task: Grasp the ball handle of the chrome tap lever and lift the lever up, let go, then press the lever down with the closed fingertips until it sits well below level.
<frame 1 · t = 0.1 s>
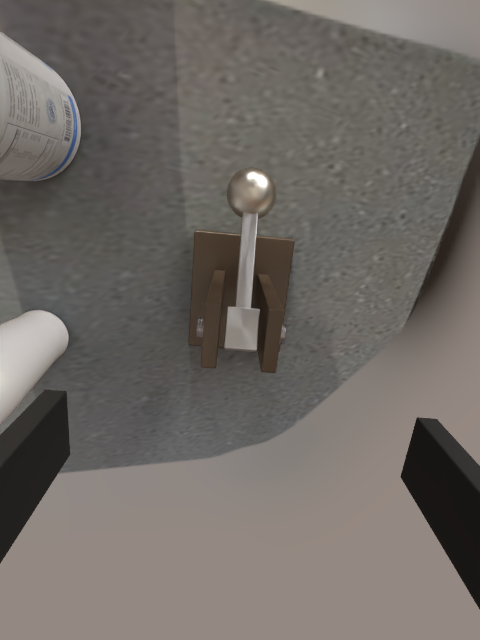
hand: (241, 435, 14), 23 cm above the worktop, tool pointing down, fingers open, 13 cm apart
white tapered cylinder: (45, 333, 37), on the worktop
supplement tub: (29, 123, 31), on the worktop
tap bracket: (239, 292, 36), on the worktop
tap lever: (246, 257, 26), point 9 cm above the worktop, hinge at -26.0°
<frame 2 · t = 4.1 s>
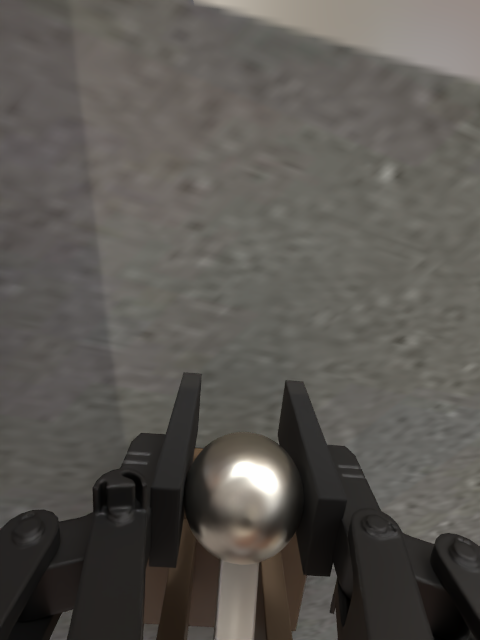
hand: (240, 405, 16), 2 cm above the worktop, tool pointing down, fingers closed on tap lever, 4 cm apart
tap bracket: (224, 534, 20), on the worktop
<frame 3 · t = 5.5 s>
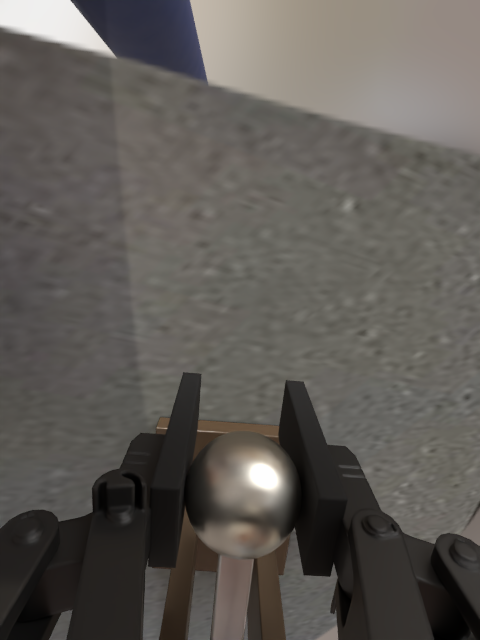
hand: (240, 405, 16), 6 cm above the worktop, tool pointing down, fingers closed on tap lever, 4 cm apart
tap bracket: (225, 493, 25), on the worktop
tap lever: (229, 605, 13), point 11 cm above the worktop, hinge at -1.1°, touching gripper
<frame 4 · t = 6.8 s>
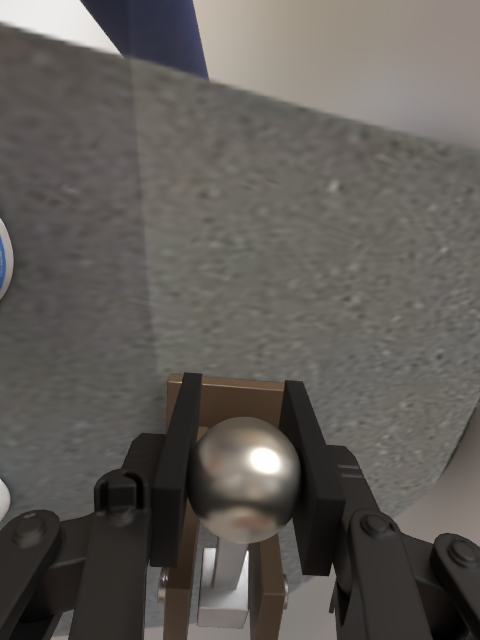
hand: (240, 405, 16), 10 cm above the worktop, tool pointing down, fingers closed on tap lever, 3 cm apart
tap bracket: (227, 444, 28), on the worktop
tap lever: (231, 541, 15), point 13 cm above the worktop, hinge at 20.1°, touching gripper
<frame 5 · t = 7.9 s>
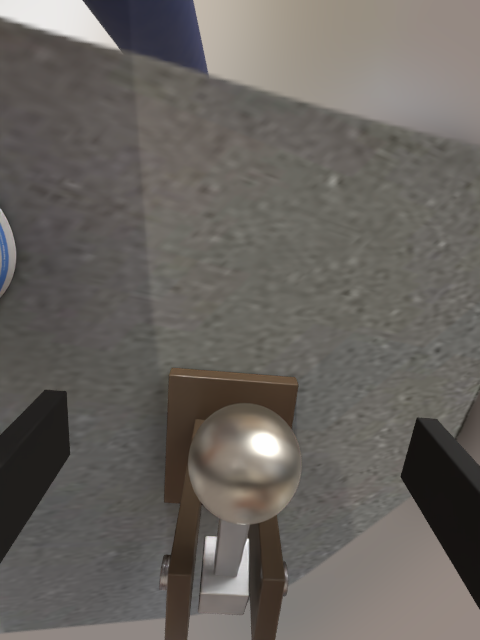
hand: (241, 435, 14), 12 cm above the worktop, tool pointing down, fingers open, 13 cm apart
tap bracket: (227, 437, 28), on the worktop
tap lever: (232, 527, 15), point 13 cm above the worktop, hinge at 19.9°
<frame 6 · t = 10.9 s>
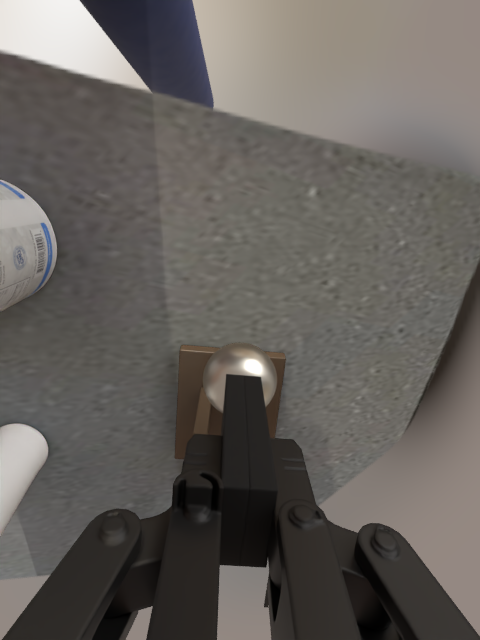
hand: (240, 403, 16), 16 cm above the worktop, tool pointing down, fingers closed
white tapered cylinder: (23, 443, 35), on the worktop
supplement tub: (2, 241, 29), on the worktop
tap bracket: (228, 403, 34), on the worktop
tap lever: (231, 442, 21), point 12 cm above the worktop, hinge at 15.7°, touching gripper
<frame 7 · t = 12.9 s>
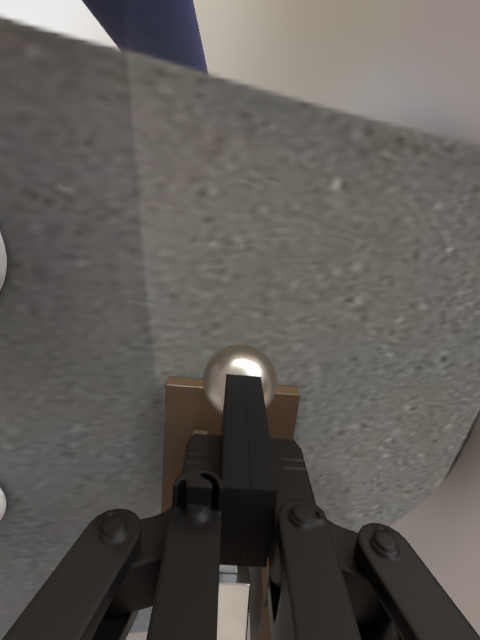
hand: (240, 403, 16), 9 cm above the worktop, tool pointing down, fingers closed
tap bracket: (227, 447, 28), on the worktop
tap lever: (231, 483, 18), point 9 cm above the worktop, hinge at -23.7°, touching gripper
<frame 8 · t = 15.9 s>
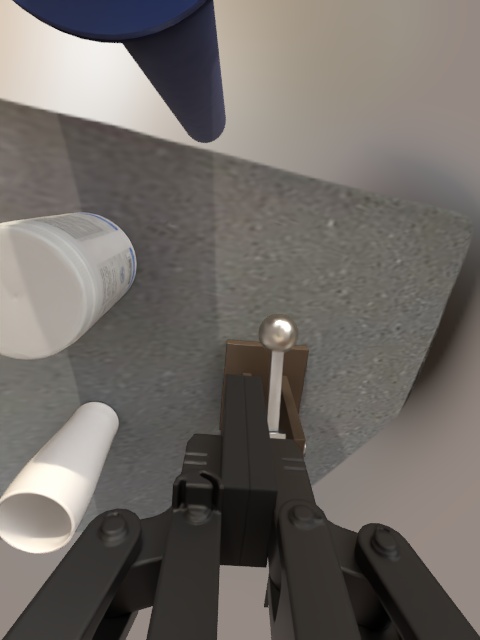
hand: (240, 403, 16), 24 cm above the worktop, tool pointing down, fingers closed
white tapered cylinder: (98, 418, 45), on the worktop
supplement tub: (93, 260, 39), on the worktop
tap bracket: (261, 386, 43), on the worktop
tap lever: (274, 386, 33), point 9 cm above the worktop, hinge at -23.7°
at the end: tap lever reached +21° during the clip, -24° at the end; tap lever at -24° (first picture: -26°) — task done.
